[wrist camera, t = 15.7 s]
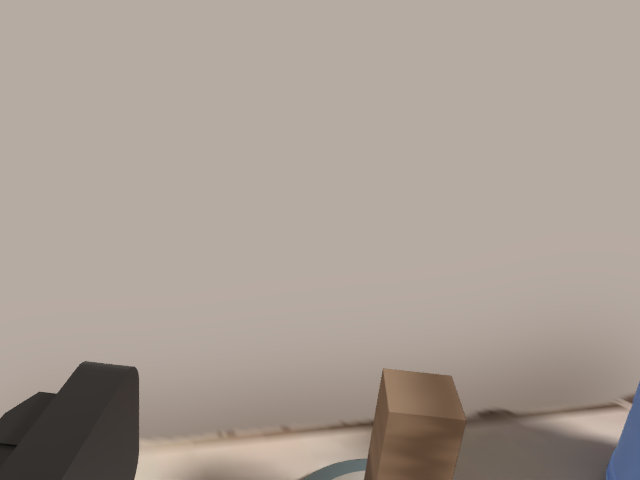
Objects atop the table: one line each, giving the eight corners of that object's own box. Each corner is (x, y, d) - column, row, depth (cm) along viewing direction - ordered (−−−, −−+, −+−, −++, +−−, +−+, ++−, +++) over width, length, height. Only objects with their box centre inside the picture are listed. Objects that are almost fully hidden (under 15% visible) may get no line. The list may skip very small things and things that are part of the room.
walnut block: (361, 565, 37) (389, 411, 33) (358, 510, 41) (382, 368, 37) (430, 572, 37) (466, 420, 33) (420, 517, 41) (451, 375, 37)
